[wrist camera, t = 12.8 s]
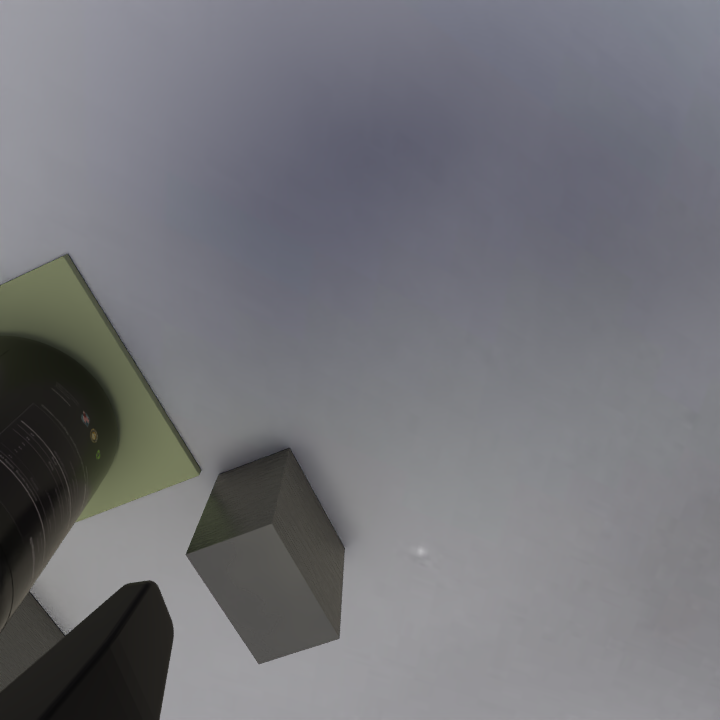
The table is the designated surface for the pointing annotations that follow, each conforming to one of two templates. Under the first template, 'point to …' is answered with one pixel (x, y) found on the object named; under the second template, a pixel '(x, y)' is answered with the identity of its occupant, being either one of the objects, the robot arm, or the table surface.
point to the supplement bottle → (45, 457)
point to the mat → (100, 379)
